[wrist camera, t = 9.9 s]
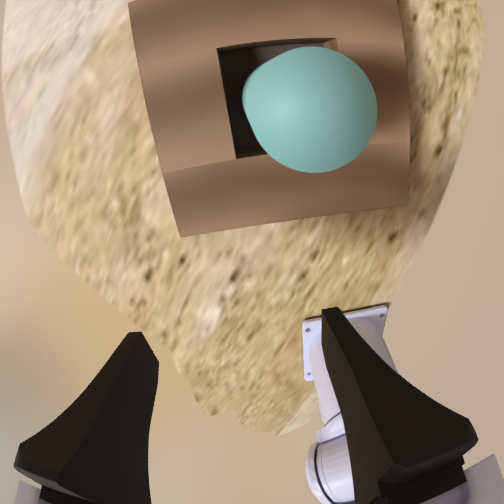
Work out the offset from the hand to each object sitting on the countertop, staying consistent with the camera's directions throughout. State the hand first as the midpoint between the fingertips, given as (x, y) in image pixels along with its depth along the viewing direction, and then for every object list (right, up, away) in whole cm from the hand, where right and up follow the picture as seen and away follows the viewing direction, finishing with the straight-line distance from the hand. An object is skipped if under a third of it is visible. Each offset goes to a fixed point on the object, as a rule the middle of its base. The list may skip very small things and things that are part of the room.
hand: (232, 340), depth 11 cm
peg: (+2, +12, +4) cm, 13 cm away
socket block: (+2, +13, +4) cm, 14 cm away
